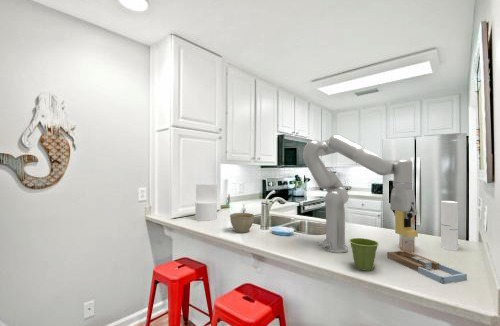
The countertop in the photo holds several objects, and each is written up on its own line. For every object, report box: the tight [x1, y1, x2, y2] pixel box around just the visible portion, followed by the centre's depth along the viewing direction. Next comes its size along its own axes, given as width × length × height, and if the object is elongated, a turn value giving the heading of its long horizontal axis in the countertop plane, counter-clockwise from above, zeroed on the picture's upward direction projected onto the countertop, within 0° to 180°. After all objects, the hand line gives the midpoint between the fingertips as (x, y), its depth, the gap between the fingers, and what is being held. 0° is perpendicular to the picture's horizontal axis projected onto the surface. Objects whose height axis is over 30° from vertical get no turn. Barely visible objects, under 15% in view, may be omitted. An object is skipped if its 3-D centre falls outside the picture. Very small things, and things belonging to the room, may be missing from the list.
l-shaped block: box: [394, 210, 419, 238], centre depth 115 cm, size 5×7×11 cm
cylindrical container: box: [440, 200, 459, 252], centre depth 135 cm, size 7×7×25 cm
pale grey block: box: [411, 256, 423, 264], centre depth 109 cm, size 3×3×3 cm
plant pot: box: [348, 237, 380, 272], centre depth 109 cm, size 12×12×11 cm
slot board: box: [386, 250, 440, 273], centre depth 112 cm, size 11×16×4 cm, turn 15°
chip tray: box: [417, 263, 468, 285], centre depth 99 cm, size 12×10×3 cm
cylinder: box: [194, 183, 218, 222], centre depth 206 cm, size 17×17×28 cm
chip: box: [419, 259, 433, 271], centre depth 106 cm, size 3×3×3 cm
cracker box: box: [398, 215, 416, 254], centre depth 132 cm, size 14×6×21 cm, turn 154°
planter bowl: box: [229, 212, 255, 234], centre depth 168 cm, size 16×16×11 cm
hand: (403, 225), depth 116 cm, fingers closed on l-shaped block, 4 cm apart
